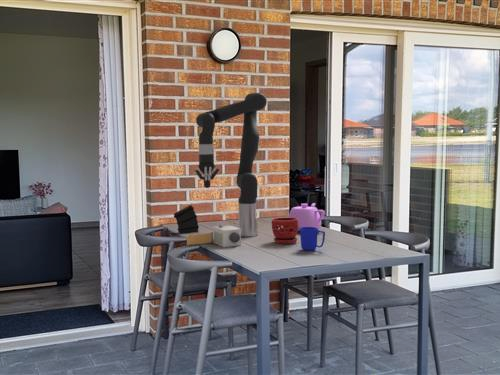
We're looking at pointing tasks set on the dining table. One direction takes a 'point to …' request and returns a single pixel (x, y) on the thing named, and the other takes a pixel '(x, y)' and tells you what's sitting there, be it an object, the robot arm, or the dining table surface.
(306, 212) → the teapot
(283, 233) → the plant pot
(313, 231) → the mug
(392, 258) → the dining table surface
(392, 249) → the dining table surface
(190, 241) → the tan wooden plank
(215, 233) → the camera body
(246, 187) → the robot arm
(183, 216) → the black ridged block
